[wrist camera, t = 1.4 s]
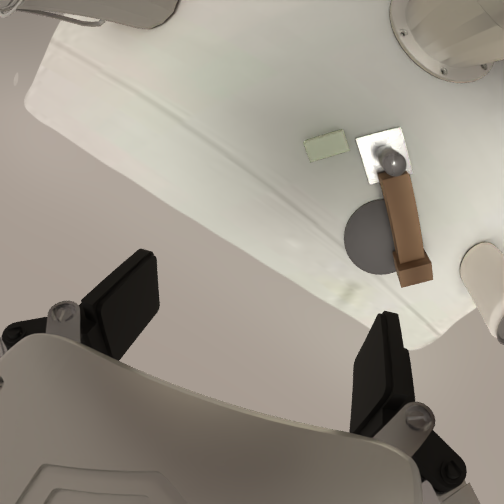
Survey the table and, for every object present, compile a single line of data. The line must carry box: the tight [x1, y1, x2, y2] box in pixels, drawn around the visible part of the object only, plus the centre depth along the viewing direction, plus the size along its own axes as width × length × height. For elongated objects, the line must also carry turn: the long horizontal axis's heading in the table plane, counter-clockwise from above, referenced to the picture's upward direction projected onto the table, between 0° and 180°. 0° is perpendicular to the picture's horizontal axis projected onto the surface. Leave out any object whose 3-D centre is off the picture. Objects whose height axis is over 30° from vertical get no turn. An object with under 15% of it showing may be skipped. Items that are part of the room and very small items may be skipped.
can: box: [460, 243, 504, 345], centre depth 24 cm, size 6×6×12 cm
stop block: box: [303, 129, 350, 163], centre depth 28 cm, size 4×2×3 cm, turn 112°
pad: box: [344, 199, 396, 275], centre depth 32 cm, size 9×9×1 cm
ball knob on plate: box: [355, 127, 413, 184], centre depth 25 cm, size 5×5×6 cm
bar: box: [378, 170, 433, 288], centre depth 27 cm, size 4×11×4 cm, turn 22°
